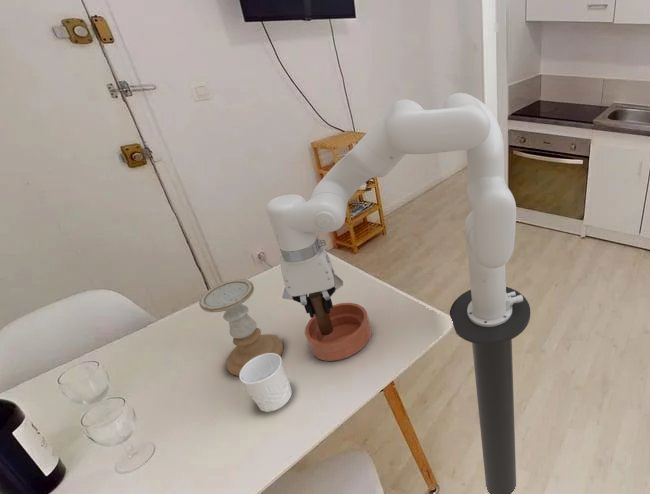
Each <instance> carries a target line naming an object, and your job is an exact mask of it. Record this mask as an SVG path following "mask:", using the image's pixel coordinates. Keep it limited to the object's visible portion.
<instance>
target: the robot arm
mask: <svg viewBox="0 0 650 494" xmlns="http://www.w3.org/2000/svg"><path fill="white" fill-rule="evenodd" d="M457 151H458V152H459V151H466V163H467V164H466V166H467V167H466V172H467V173H466V197H467V201H468V203H469V206H470V208H471V210H472V211H471V212H470V213H469V214H468V215H467V217H466V219H465V221H464V226H463V234H464V239H465V246H466V252H467V261H468V273H469V283H470V284H469V285H470V290H471V296H472V301H471V302H470V304H469V305H468V308H467V313H468V317H469V319H470V320H471V321H472V322H473V323H475V324H477V325H479V326H483V327H493V326H498V325H500V324H502V323H504V322H506V321H507V320H508V319H509V318H510V316H511V314H512V305H513V303H519V302H522V301H523V296H524V295H523V294H522V295H523V296H522V295H518V296H516V293H515V291H514V292H510V293H506V287H507V280H506V277H507V276H506V264H507V263H508V262H509V260H510V259H511V258H512V255H513V253H514V248H515V243H516V242H515V241H516V226H517V204H516V200H515V197H514V195H513V193H512V191H511V190H510V188H509V186H508V185H507V183H506V179H505V142H504V136H503V132H502V129H501V126H500V124H499V122H498V120H497V118H496V117H495V115H494V113H493V111H492V110H491V109H490V108H489V107H488V106H487V105H486V104H485V103H483V101H481V100H480V99H479V98H477V97H475V96H473V95H471V94H469V93H465V92H455V93H453V94H451V95H449V96H448V97H446V99H445V100H444V102H443V104H442V108H438V109H437V108H435V109H424V108H423V106H421V104H419V103H418V102H416V101H413V100H412V99H407V98H406V99H405V98H404V99H399V100H397V101H396V102H394V103H393V104H391V105H390V106H389V108H387V109H386V111H385V112H384V113H383V114H382V115H381V116H380V117H379V118H378V120H377V121H376V122H375V123H374V125H372V126H371V128H370V129H369V130H368V131H367V132H366V133H365V134H364V136H362V138H361V139H360V140H359V141H358V142H357V143H356V144H355V145H354V147H353V148H351V149H350V150H349V151H348V152H347V153H346V154H345V155H344V156H343V157H341V158H340V159H339V160H338V161H337V162H336V163H335V164H334V165H333V166H332V167H331V168H330V170H329V171H327V173H326V174H325V175H324V176H323V177H322V179H320V180H319V182H318V183H317V184H316V186H315V187H314V189H313V191H312V194H311V196H310V199H309V200H307V201H306V199H305V198H304V197H303V196H302V195H300V194H295V193H290V194H283V195H278V196H276V197H274V198H272V199H271V200H270V201H268V202H267V205H266V208H265V209H266V214H267V217H268V219H269V223H270V225H271V229H272V231H273V234H274V236H275V240H276V242H277V245H278V247H279V251H280V269H281V274H282V278H283V284H284V290H283V292H282V299H284V300H293V301H294V302H297V303H299V304H300V305H302V306H303V307H304V310H305V313H306V314H309V317H310V319H311V318H312V317H314V312H313V309H312V306H311V303H310V300H309V297H308V295H309V294H310V293H314V292H319V291H321V292H322V294H323V297H324V299H323V303H324V306H325V309H326V312H327V313H328V314H329V313H330V308H333V305H334V304H333V300H332V296H333V295H334V294H335V292H336V291H337V290H339V289H340V288H341V287H343V286H344V281H343V279H342V278H340V277H339V276H338V275H336V273H335V270H334V266H333V263H332V262H331V259H330V257H329V255H328V252H327V251H326V249H325V247H324V246H326V245H327V244H326V240H325V239H319V238H318V236H317V233H332V232H336V231H338V230H339V229H341V228H342V227H343V225H344V224H345V222H346V217H347V210H348V209H347V208H348V202H349V201H350V200H351V198H352V197H353V196H354V194H356V193H357V192H358V190H359V189H360V188H361V187H362V186H363V185H364V184H366V183H367V182H368V181H369V180H371V179H373V178H374V179H375V178H383V177H384V178H385V177H386V176H387V175H388V174H390V172H391V171H392V170H394V168H395V167H396V165H397V164H398V163H399V162H400V161H401V160H402V159H403V158H404V157H405V155H429V154H439V153H440V154H441V153H448V152H457ZM514 296H515V297H514ZM511 297H512V298H511Z"/></svg>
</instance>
